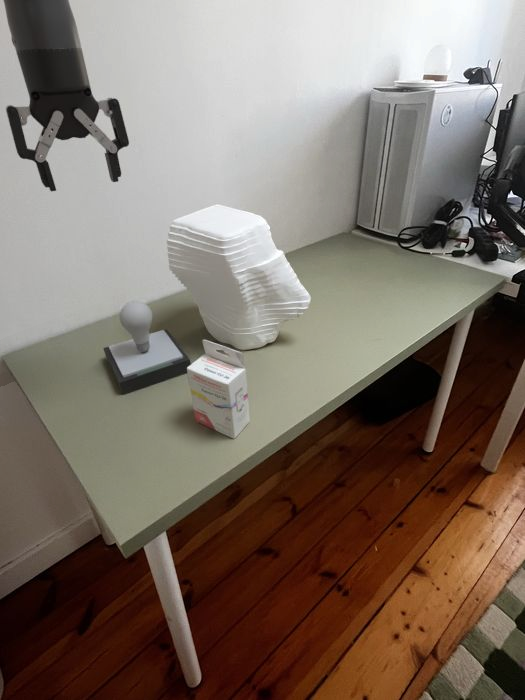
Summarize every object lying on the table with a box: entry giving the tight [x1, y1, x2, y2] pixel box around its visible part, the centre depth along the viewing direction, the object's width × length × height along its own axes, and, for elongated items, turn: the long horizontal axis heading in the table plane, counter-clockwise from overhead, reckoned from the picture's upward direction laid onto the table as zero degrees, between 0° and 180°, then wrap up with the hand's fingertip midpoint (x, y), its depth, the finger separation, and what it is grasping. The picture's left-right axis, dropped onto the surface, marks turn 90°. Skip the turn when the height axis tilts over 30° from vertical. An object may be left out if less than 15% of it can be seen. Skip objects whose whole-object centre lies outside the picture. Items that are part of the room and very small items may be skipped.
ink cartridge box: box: [187, 339, 251, 440], centre depth 70 cm, size 9×5×15 cm, turn 58°
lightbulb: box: [119, 300, 153, 352], centre depth 85 cm, size 6×6×11 cm
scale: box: [102, 328, 192, 396], centre depth 89 cm, size 14×14×4 cm
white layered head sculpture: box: [166, 203, 312, 351], centre depth 91 cm, size 21×27×26 cm
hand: (84, 185), depth 62 cm, fingers open, 8 cm apart
